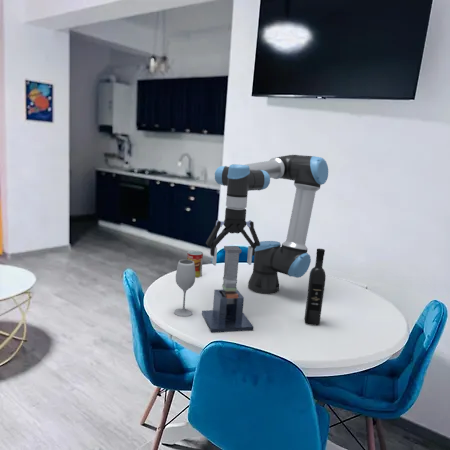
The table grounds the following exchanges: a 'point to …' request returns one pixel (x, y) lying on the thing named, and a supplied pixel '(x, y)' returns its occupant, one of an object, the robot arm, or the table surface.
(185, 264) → the wineglass
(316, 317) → the wine bottle
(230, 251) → the column
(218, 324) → the stand
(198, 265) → the canned food
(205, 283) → the table surface
